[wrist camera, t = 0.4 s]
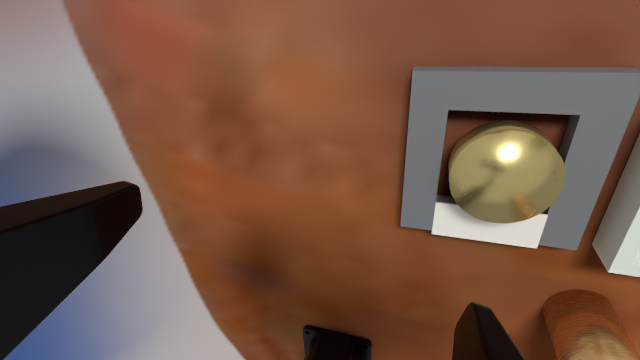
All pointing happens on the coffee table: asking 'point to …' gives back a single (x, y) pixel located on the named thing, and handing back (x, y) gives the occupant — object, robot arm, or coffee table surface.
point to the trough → (622, 222)
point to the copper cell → (586, 327)
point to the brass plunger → (505, 172)
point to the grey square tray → (519, 97)
